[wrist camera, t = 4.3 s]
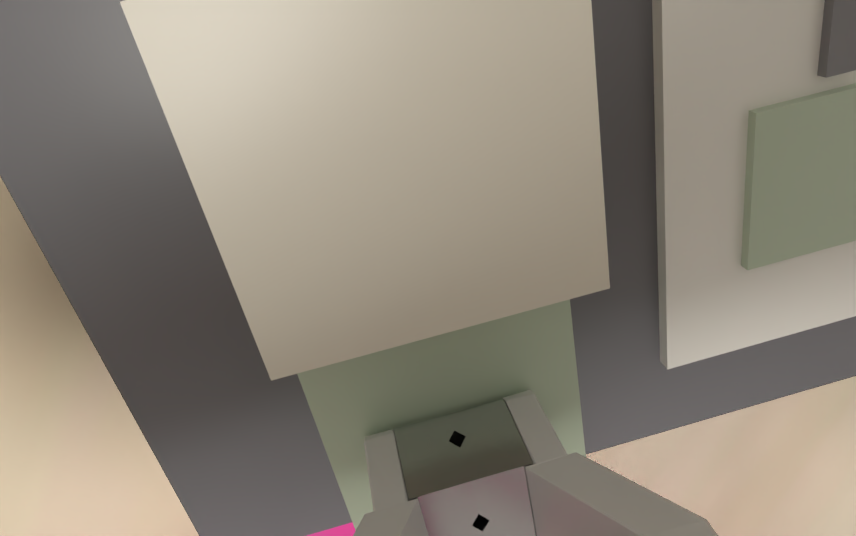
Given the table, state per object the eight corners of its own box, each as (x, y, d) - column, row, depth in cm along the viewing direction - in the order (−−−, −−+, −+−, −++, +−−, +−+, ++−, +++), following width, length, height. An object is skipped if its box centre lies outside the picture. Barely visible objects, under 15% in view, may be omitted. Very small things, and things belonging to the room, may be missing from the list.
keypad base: (937, -665, 10) (1355, -1057, 6) (822, 269, 18) (969, 360, 14) (-191, -475, 9) (-581, -808, 5) (230, 433, 17) (211, 583, 13)
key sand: (478, -89, 10) (584, -104, 6) (514, 183, 12) (609, 288, 8) (185, -23, 9) (120, 1, 6) (277, 244, 11) (271, 380, 8)
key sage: (499, 205, 14) (569, 297, 10) (523, 367, 16) (589, 490, 12) (295, 257, 13) (296, 372, 10) (348, 416, 15) (365, 556, 12)
